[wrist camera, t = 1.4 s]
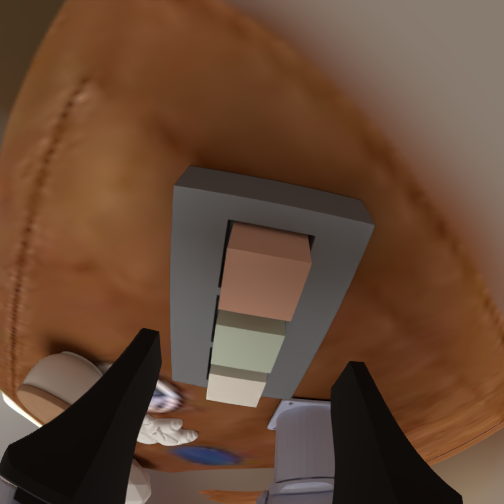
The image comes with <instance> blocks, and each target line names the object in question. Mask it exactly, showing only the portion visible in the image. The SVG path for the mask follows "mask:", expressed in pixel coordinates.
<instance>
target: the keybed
mask: <svg viewBox="0 0 504 504" xmlns="http://www.w3.org/2000/svg"><path fill="white" fill-rule="evenodd" d="M234 220H235V221H240V222H246V223H251V224H257V225H262V226H267V227H272V228H277V229H283V230H288V231H293V232H298V233H303V234H308V241H309V247H310V254H311V260H312V265H311V268H310V270H309V273H308V276H307V279H306V282H305V284H304V287H303V290H302V293H301V295H300V298H299V301H298V304H297V306H296V309H295V312H294V314H293V317H292V320H291V321H285V338H284V340H283V343H282V345H281V348H280V350H279V353H278V355H277V358H276V360H275V363H274V365H273V368H272V370H271V373H267V380H266V385H265V387H264V390H263V392H262V394H261V396H263V397H271V398H280V399H289V400H290V399H291V397H292V395H293V393H294V392H295V390H296V388H297V387H298V385H299V383H300V381H301V380H302V378H303V376H304V374H305V372H306V371H307V369H308V367H309V365H310V363H311V361H312V360H313V358H314V356H315V354H316V352H317V350H318V348H319V346H320V344H321V343H322V341H323V339H324V337H325V335H326V333H327V331H328V329H329V327H330V325H331V323H332V321H333V319H334V317H335V315H336V313H337V311H338V309H339V307H340V305H341V302H342V300H343V298H344V296H345V294H346V292H347V290H348V287H349V285H350V283H351V281H352V279H353V277H354V274H355V272H356V270H357V268H358V265H359V263H360V261H361V258H362V256H363V254H364V251H365V249H366V247H367V244H368V242H369V239H370V237H371V234H372V232H373V230H374V227H375V224H374V222H373V220H372V218H371V216H370V215H369V213H368V211H367V209H366V207H365V206H364V204H363V202H362V200H358V199H354V198H350V197H346V196H342V195H338V194H334V193H329V192H325V191H321V190H316V189H312V188H307V187H303V186H298V185H293V184H289V183H284V182H279V181H274V180H269V179H264V178H258V177H253V176H248V175H242V174H237V173H231V172H225V171H219V170H213V169H207V168H201V167H194V166H189V167H188V169H187V170H186V171H185V172H184V173H183V175H182V176H181V177H180V178H179V180H178V181H177V182H176V183H175V185H174V192H173V209H172V231H171V264H170V327H171V360H172V380H174V381H178V382H183V383H187V384H192V385H197V386H202V387H207V388H208V381H209V373H210V368H211V358H212V350H213V343H214V335H215V328H216V322H217V318H218V313H219V309H218V307H219V300H220V293H221V286H222V280H223V273H224V266H225V260H226V253H227V247H228V243H229V239H230V235H231V231H232V228H233V224H234Z"/></svg>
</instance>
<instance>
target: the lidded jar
mask: <svg viewBox="0 0 504 504" xmlns="http://www.w3.org/2000/svg"><path fill="white" fill-rule="evenodd" d="M102 376H103V374H102V373H101V371H100V370H99V369H98V368H97V367H96V366H95V365H94V364H93V363H92V362H90V361H89V360H87V359H86V358H84V357H82V356H80V355H78V354H76V353H73V352H69V351H63V352H61V353H59V354H52V355H49V356H46V357H44V358H42V359H41V360H39V361H38V362H37V363H36V364H35V365H34V366H33V367H32V369H31V370H30V371H29V373H28V374H27V376H26V377H25V379H24V381H23V383H22V385H20V387H19V388H18V390H17V396H18V398H19V400H20V401H21V403H22V404H23V405H24V406H25V407H26V408H27V409H28V410H29V411H30V412H31V413H32V414H34V415H35V416H36V417H37V418H39V419H40V420H41V421H43V422H44V423H46V424H47V423H48V422H50V421H51V420H53V419H54V418H55V417H57V416H58V415H59V414H61V413H62V412H63V411H65V410H66V409H67V408H68V407H70V406H71V405H72V404H73V403H74V402H76V401H77V400H78V399H79V398H80V397H81V396H82V395H84V394H85V393H86V392H87V391H88V390H89V389H90V388H91V387H92V386H93V385H94V384H95V383H96V382H97V381H98V380H99V379H100V378H101V377H102Z"/></svg>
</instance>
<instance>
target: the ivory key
mask: <svg viewBox="0 0 504 504" xmlns="http://www.w3.org/2000/svg"><path fill="white" fill-rule="evenodd" d="M266 380H267V373H264V372H257V371H251V370H244V369H238V368H232V367H227V366H221V365H216V364H211V368H210V373H209V381H208V388H207V396H206V399H207V400H213V401H218V402H224V403H230V404H237V405H243V406H250V407H256V406H257V404H258V401H259V399H260V397H261V394H262V392H263V390H264V387H265V385H266Z"/></svg>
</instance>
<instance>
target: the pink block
mask: <svg viewBox="0 0 504 504" xmlns="http://www.w3.org/2000/svg"><path fill="white" fill-rule="evenodd" d="M311 265H312V260H311V254H310V247H309V241H308V234H303V233H298V232H293V231H288V230H283V229H277V228H272V227H267V226H262V225H257V224H251V223H246V222H240V221H235V220H234V224H233V228H232V231H231V235H230V239H229V243H228V247H227V253H226V260H225V266H224V273H223V280H222V286H221V293H220V300H219V307H218V309H221V310H226V311H232V312H237V313H243V314H248V315H254V316H260V317H266V318H272V319H278V320H285V321H291V320H292V317H293V314H294V312H295V309H296V306H297V304H298V301H299V298H300V295H301V293H302V290H303V287H304V284H305V282H306V279H307V276H308V273H309V270H310V268H311Z"/></svg>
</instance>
